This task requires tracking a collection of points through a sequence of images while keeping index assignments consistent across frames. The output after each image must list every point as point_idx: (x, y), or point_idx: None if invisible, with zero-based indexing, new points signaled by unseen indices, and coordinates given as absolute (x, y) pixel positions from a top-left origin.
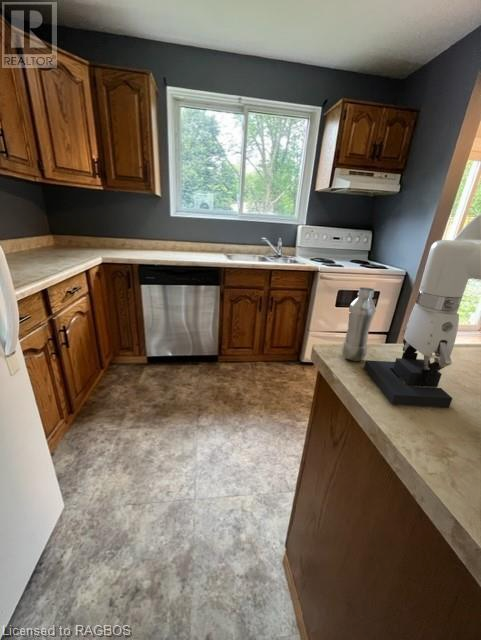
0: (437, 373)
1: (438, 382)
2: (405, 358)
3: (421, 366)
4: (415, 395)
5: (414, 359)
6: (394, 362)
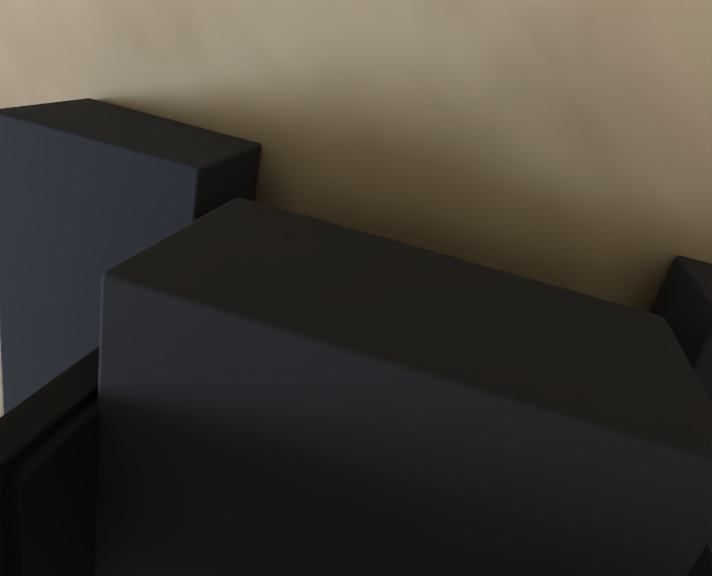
0: (696, 537)
1: (687, 368)
2: (93, 569)
3: (378, 574)
4: None
5: (115, 453)
6: (21, 365)
